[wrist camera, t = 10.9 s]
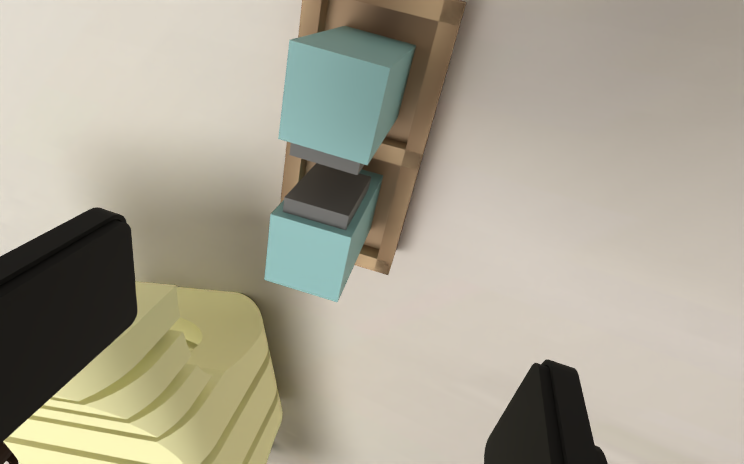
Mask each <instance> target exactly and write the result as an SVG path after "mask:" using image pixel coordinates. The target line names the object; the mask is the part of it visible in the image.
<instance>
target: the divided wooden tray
mask: <svg viewBox="0 0 744 464" xmlns="http://www.w3.org/2000/svg"><path fill="white" fill-rule="evenodd" d="M465 6H466V2H464V1H459V0H302V7H301V17H300V26H299V35H298V38H299V37H303V36H307V35H311V34H315V33H319V32H322V31H326V30H330V29H334V28H338V27H342V26H348V27H351V28H355V29H359V30H362V31H366V32H370V33H373V34H377V35H381V36H384V37H388V38H391V39H395V40H399V41H402V42H406V43H410V44H413V45H416V48H415V52H414V56H413V60H412V64H411V68H410V72H409V75H408V79H407V83H406V87H405V91H404V95H403V99H402V103H401V106H400V110H399V114H398V118H397V120H396V121H395V123H394V124H393V126H392V127H391V129H390V131H389V132H388V134H387V135H386V137H385V138H384V140H383V142H382V143H381V145H380V146H379V148H378V150H377V151H376V153H375V154H374V156H373V157H372V159H371V161H370V162H369V164H368V165H364V166H363V168H362V169H363V170H366V171H370V172H373V173H377V174H380V175H383V179H382V183H381V187H380V191H379V196H378V200H377V204H376V208H375V212H374V216H373V221H372V225H371V229H370V231H369V233H368V236H367V238H366V240H365V242H364V245H363V247H362V249H361V251H360V253H359V256H358V258H357V260H356V262H355V264H354V265H356V266H360V267H363V268H366V269H370V270H373V271H376V272H380V273H383V274H386V275H388V274H389V271H390V268H391V264H392V261H393V258H394V255H395V252H396V248H397V245H398V241H399V238H400V234H401V231H402V227H403V224H404V220H405V217H406V213H407V210H408V206H409V203H410V199H411V196H412V192H413V189H414V185H415V182H416V178H417V175H418V171H419V167H420V164H421V160H422V157H423V153H424V150H425V146H426V143H427V139H428V136H429V132H430V129H431V125H432V122H433V118H434V115H435V111H436V108H437V104H438V101H439V97H440V94H441V90H442V87H443V83H444V80H445V76H446V72H447V69H448V65H449V62H450V58H451V55H452V51H453V48H454V44H455V41H456V37H457V34H458V30H459V27H460V23H461V20H462V16H463V13H464V9H465ZM290 146H291V142H287V147H286V156H285V165H284V175H283V184H282V193H281V202H282V201H283V200H284V197H285V196H286V195H287V194H288V193H289V192H290V191H291V190H292V189H293V188H294V186H295V185H296V184H297V183H298V182H299V181H300V180H301V179H302V178H303V177H304V176H305V175H306V174H307V173H308V172H309V170H310V169H311V168H312V167H313V166H314V165H315V164H316V163H315V162H311V161H308V160H305V159H301V158H298V157H295V156H291V155H289V154H290Z"/></svg>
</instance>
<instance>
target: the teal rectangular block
mask: <svg viewBox="0 0 744 464" xmlns="http://www.w3.org/2000/svg"><path fill="white" fill-rule="evenodd" d="M415 48H416V45H413V44H410V43H406V42H402V41H399V40H395V39H391V38H388V37H384V36H381V35H377V34H373V33H370V32H366V31H362V30H359V29H355V28H351V27H348V26H342V27H338V28H334V29H330V30H326V31H322V32H319V33H315V34H311V35H307V36H303V37H299V38H295V39H292V40H290V41H289V50H288V59H287V68H286V77H285V85H284V94H283V103H282V112H281V121H280V129H279V138H278V139H281V140H284V141H287V142H291V146H290V154H289V155H291V156H295V157H298V158H301V159H305V160H308V161H311V162H315V163H318V164H321V165H325V166H328V167H331V168H335V169H338V170H341V171H345V172H348V173H351V174H355V175H358V174H359V172H360V171H361V169H362V168H363V166H364V165H368V164H369V162H370V161H371V159H372V157H373V156H374V154H375V153H376V151H377V150H378V148H379V146H380V145H381V143H382V142H383V140H384V138H385V137H386V135H387V134H388V132H389V131H390V129H391V127H392V126H393V124H394V123H395V121H396V120H397V118H398V114H399V110H400V106H401V103H402V99H403V95H404V91H405V87H406V83H407V79H408V75H409V72H410V68H411V64H412V60H413V56H414V52H415Z"/></svg>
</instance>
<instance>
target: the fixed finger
mask: <svg viewBox="0 0 744 464" xmlns="http://www.w3.org/2000/svg"><path fill="white" fill-rule="evenodd" d="M382 179H383V175H380V174H377V173H373V172H370V171H366V170H363V169H361V171H360V172H359V174H358V175H355V174H351V173H348V172H345V171H341V170H338V169H335V168H331V167H328V166H325V165H321V164H318V163H316V164H315V165H314V166H313V167H312V168H311V169H310V170H309V172H308V173H307V174H306V175H305V176H304V177H303V178H302V179H301V180H300V181H299V182H298V183H297V184H296V185H295V186H294V188H293V189H292V190H291V191H290V192H289V193H288V194H287V195H286V196H285V197H284V200H283V201H282V202H281V203H280V205H279V206H278V207H277V208H276V209H275V210H274V211H273V212H272V213H271V216H270V226H269V237H268V247H267V258H266V268H265V279H264V280H267V281H270V282H273V283H276V284H280V285H283V286H286V287H289V288H293V289H296V290H299V291H302V292H306V293H309V294H312V295H315V296H319V297H322V298H325V299H328V300H332V301H335V302H338V300H339V298H340V296H341V293H342V291H343V289H344V287H345V284H346V282H347V280H348V278H349V276H350V273H351V271H352V269H353V267H354V264H355V262H356V260H357V258H358V256H359V253H360V251H361V249H362V247H363V245H364V242H365V240H366V238H367V236H368V233H369V231H370V229H371V225H372V221H373V216H374V212H375V208H376V204H377V200H378V196H379V191H380V187H381V183H382Z"/></svg>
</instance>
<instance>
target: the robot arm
mask: <svg viewBox="0 0 744 464" xmlns="http://www.w3.org/2000/svg"><path fill="white" fill-rule="evenodd" d="M137 311H138V309H137V297H136V285H135V273H134V261H133V249H132V237H131V228H130V226H129V225H128V224H127V223H126V219H125V218H124V216H122V215H120V214H117V213H114V212H111V211H108V210H105V209H102V208H92V209H90V210H88V211H86V212H84V213H82V214H80V215H78V216H76V217H75V218H73V219H71V220H69V221H67V222H65V223H63V224H61V225H59V226H57V227H56V228H54V229H52V230H50V231H48V232H46V233H44V234H42V235H40V236H38V237H37V238H35V239H33V240H31V241H29V242H27V243H25V244H23V245H21V246H19V247H18V248H16V249H14V250H12V251H10V252H8V253H6V254H4V255H2V256H0V443H1V442H3V441H4V440H5V439H6V438H8V437H9V436H10V435H11V434H12V433H13V432H14V431H15V430H16V429H17V428H19V427H20V426H21V425H22V424H23V423H24V422H25V421H26V420H27V419H28V418H30V417H31V416H32V415H33V414H34V413H35V412H36V411H37V410H38V409H39V408H41V407H42V406H43V405H44V404H45V403H46V402H47V401H48V400H49V399H50V398H52V397H53V396H54V395H55V394H56V393H57V392H58V391H59V390H60V389H61V388H63V387H64V386H65V385H66V384H67V383H68V382H69V381H70V380H71V379H72V378H74V377H75V376H76V375H77V374H78V373H79V372H80V371H81V370H82V369H84V368H85V367H86V366H87V365H88V364H89V363H90V362H91V361H92V360H93V359H95V358H96V357H97V356H98V355H99V354H100V353H101V352H102V351H103V350H104V349H106V348H107V347H108V346H109V345H110V344H111V343H112V342H113V341H114V340H115V339H117V338H118V337H119V336H120V335H121V334H122V333H123V332H124V331H125V330H126V329H128V328H129V327H130V326H131V325H132V323H133V322H134V320H135V318H136V316H137ZM484 464H607V460H606V458H605V455H604V453H603V451H602V450H601V449H600V447H597V446H595V445H594V441H593V436H592V432H591V428H590V423H589V419H588V414H587V410H586V406H585V401H584V397H583V393H582V388H581V384H580V380H579V375H578V373H577V370H576V369H575V368H572V367H569V366H566V365H563V364H560V363H557V362H554V361H551V360H545V361H544V362H543V363H542V364H538V363H534V364H533V365H532V366H531V368H530V370H529V371H528V373H527V375H526V376H525V378H524V380H523V381H522V383H521V385H520V386H519V388H518V390H517V391H516V393H515V395H514V396H513V398H512V400H511V401H510V403H509V405H508V406H507V408H506V410H505V411H504V413H503V415H502V416H501V418H500V420H499V421H498V423H497V425H496V426H495V428H494V430H493V431H492V433H491V435H490V436H489V438H488V440H487V443H486V447H485V454H484Z"/></svg>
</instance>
